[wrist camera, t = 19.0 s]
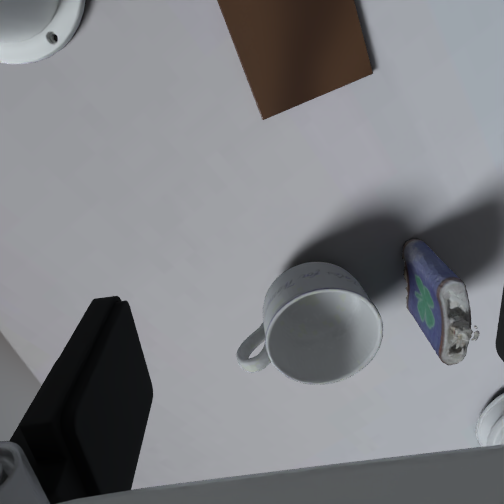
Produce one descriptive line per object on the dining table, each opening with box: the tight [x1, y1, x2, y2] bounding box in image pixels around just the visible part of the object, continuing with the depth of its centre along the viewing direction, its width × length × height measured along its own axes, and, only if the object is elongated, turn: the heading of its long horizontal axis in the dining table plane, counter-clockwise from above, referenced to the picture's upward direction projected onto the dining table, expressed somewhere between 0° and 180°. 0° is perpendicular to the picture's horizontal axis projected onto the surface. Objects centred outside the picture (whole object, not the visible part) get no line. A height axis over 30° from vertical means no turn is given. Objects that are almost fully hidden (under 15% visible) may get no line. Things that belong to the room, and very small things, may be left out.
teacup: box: [236, 262, 383, 385], centre depth 42 cm, size 14×11×8 cm
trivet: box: [217, 0, 373, 120], centre depth 35 cm, size 10×10×1 cm
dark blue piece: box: [402, 239, 479, 365], centre depth 40 cm, size 9×3×11 cm, turn 12°
